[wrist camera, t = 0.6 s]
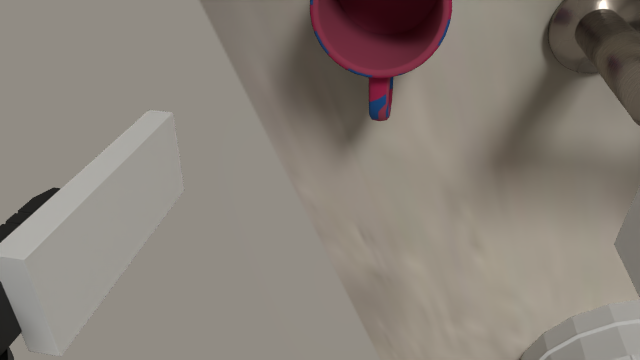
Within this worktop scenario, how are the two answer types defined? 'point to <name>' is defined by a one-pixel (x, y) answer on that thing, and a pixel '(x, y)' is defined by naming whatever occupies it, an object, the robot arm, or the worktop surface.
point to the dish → (592, 336)
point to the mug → (380, 39)
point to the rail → (601, 44)
